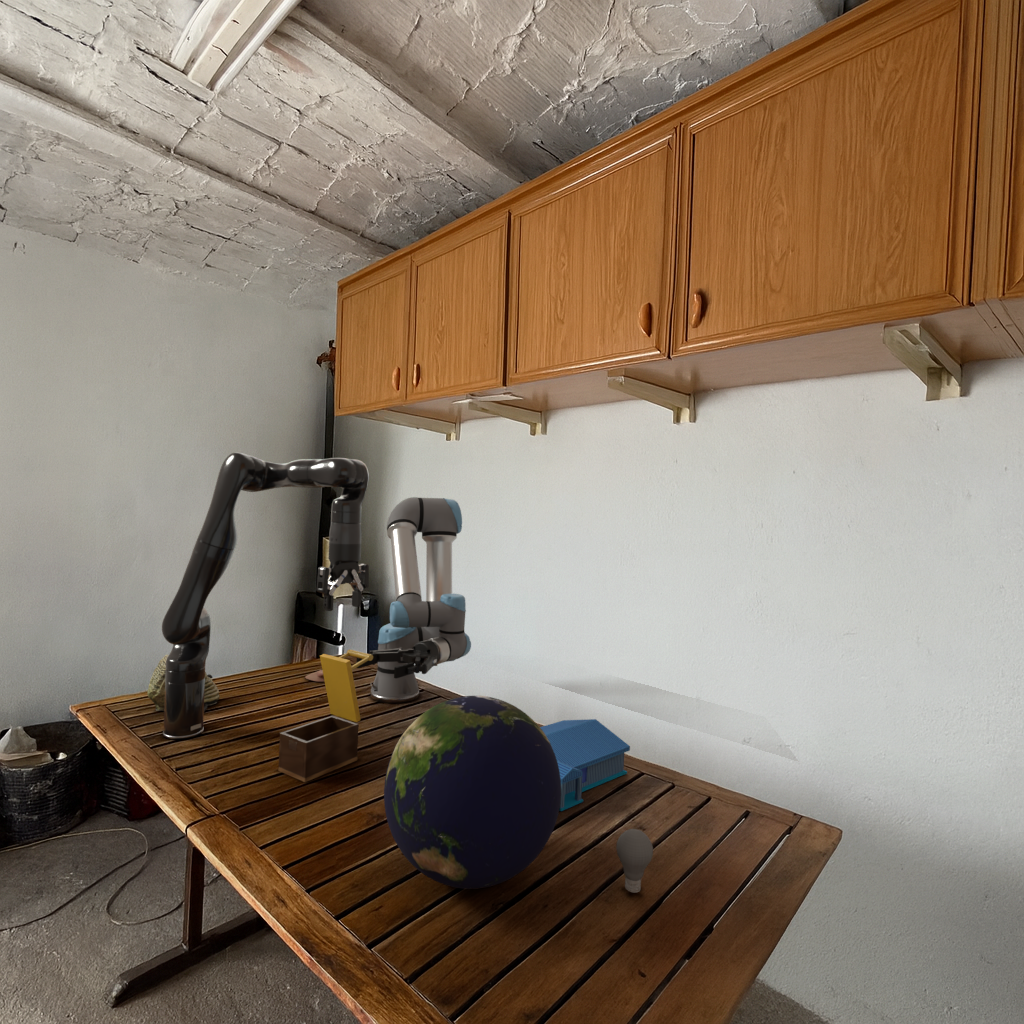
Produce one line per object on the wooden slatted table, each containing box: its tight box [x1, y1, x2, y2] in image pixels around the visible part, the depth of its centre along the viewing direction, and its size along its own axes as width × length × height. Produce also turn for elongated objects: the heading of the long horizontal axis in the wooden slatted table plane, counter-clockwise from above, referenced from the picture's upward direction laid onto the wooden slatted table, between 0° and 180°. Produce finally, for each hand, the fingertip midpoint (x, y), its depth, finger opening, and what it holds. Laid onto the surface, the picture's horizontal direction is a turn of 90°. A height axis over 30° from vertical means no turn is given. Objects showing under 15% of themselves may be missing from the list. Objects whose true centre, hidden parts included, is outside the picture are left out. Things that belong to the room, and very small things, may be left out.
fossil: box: [147, 654, 221, 712], centre depth 185 cm, size 9×18×15 cm, turn 132°
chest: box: [277, 715, 360, 783], centre depth 149 cm, size 15×9×9 cm, turn 147°
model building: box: [539, 718, 631, 812], centre depth 145 cm, size 39×24×10 cm, turn 132°
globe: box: [383, 694, 561, 890], centre depth 108 cm, size 30×30×30 cm
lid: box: [319, 649, 373, 723], centre depth 157 cm, size 16×9×9 cm
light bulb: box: [615, 828, 654, 894], centre depth 106 cm, size 6×6×10 cm
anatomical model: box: [304, 669, 325, 683], centre depth 219 cm, size 13×4×12 cm
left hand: (342, 608), depth 153 cm, fingers open, 8 cm apart
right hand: (375, 667), depth 163 cm, fingers open, 13 cm apart
